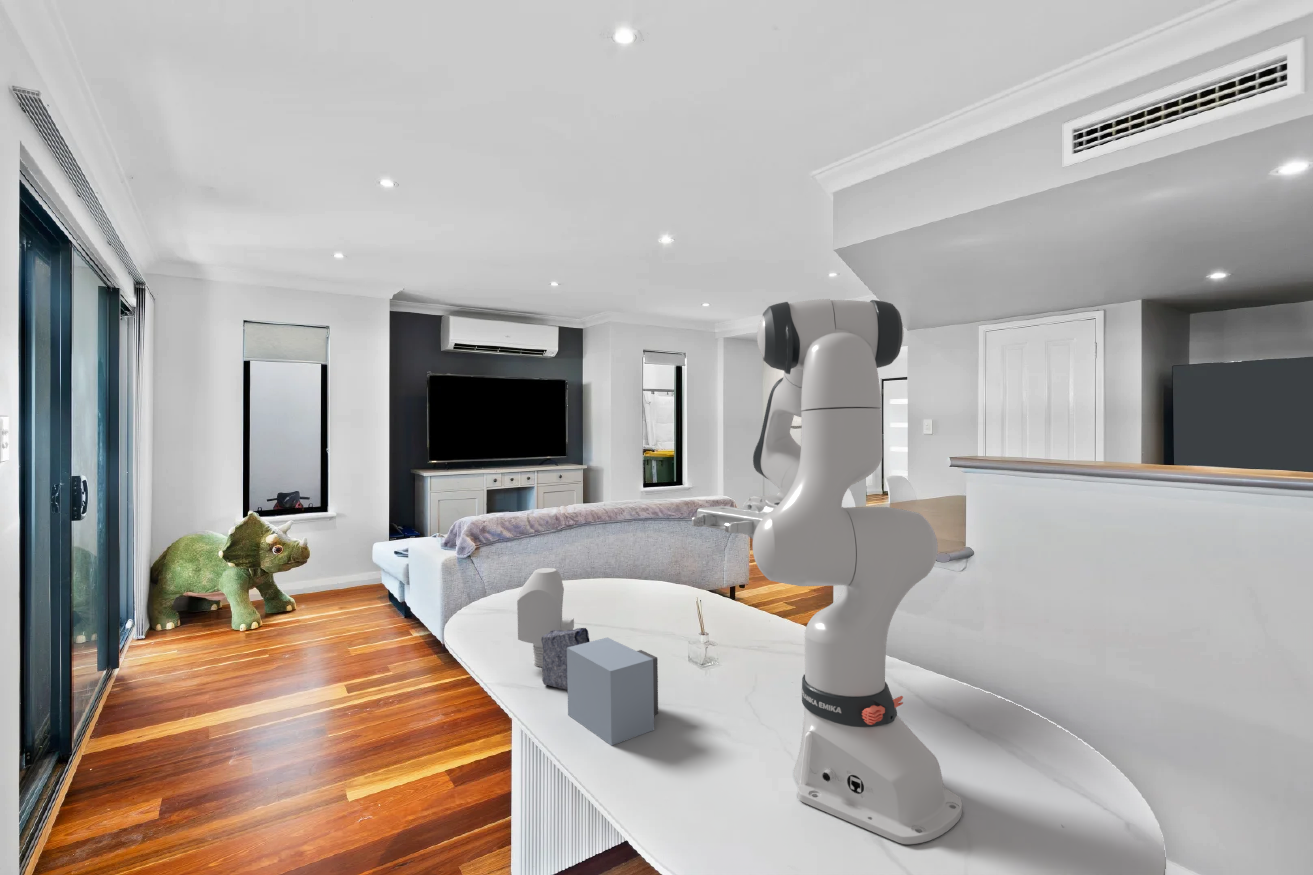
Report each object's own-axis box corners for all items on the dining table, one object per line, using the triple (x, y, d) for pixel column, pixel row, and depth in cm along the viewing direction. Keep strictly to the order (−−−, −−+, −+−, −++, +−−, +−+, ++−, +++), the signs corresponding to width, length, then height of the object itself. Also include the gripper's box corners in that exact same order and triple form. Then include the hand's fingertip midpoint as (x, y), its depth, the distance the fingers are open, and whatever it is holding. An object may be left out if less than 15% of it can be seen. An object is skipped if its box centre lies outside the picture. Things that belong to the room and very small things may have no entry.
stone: (602, 686, 131) (584, 690, 122) (556, 691, 133) (536, 696, 124) (596, 625, 135) (578, 624, 126) (552, 631, 137) (532, 631, 128)
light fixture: (561, 671, 135) (559, 575, 134) (518, 669, 136) (516, 574, 136) (574, 655, 144) (572, 565, 144) (534, 653, 146) (532, 564, 145)
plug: (658, 713, 115) (658, 657, 115) (620, 726, 110) (619, 668, 110) (642, 703, 119) (641, 649, 119) (604, 716, 114) (603, 659, 114)
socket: (655, 729, 109) (654, 658, 109) (611, 745, 104) (610, 671, 103) (609, 701, 120) (608, 636, 120) (568, 714, 115) (566, 647, 115)
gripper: (725, 497, 139) (675, 503, 131) (800, 507, 123) (748, 514, 115) (726, 527, 139) (676, 534, 131) (800, 540, 123) (748, 549, 115)
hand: (710, 525), depth 123 cm, fingers open, 8 cm apart
